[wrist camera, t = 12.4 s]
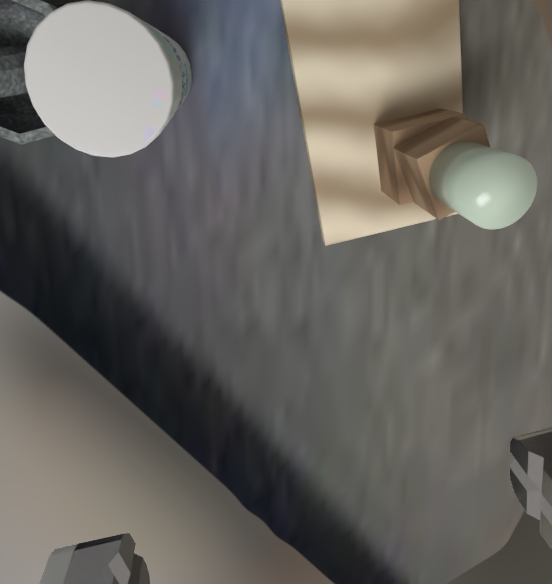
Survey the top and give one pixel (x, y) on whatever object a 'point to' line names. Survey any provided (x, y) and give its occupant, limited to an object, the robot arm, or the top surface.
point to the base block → (393, 136)
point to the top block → (433, 158)
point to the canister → (483, 183)
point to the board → (367, 96)
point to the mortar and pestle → (19, 70)
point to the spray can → (104, 78)
